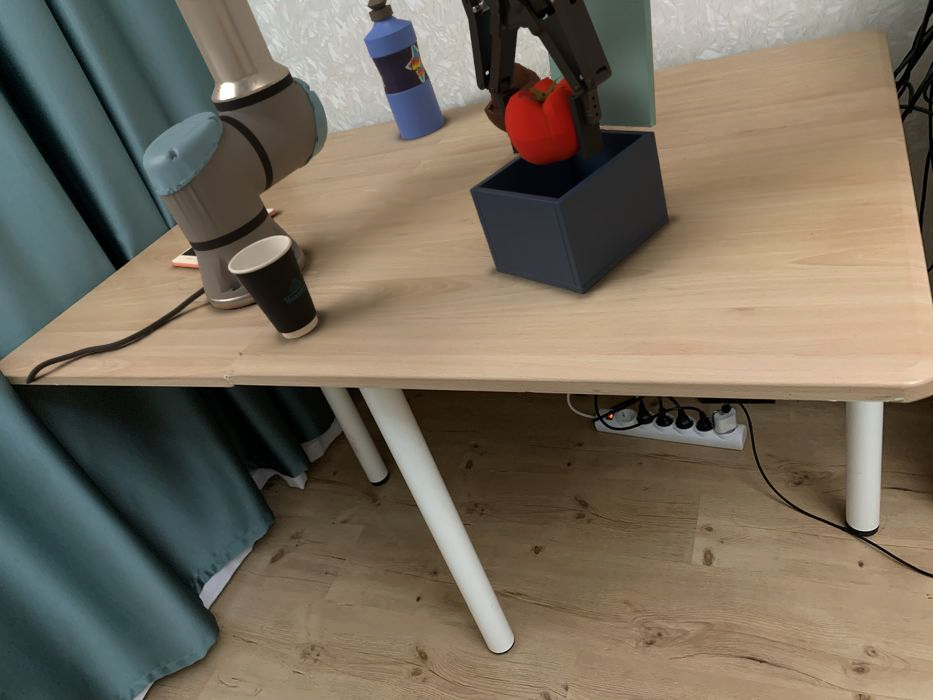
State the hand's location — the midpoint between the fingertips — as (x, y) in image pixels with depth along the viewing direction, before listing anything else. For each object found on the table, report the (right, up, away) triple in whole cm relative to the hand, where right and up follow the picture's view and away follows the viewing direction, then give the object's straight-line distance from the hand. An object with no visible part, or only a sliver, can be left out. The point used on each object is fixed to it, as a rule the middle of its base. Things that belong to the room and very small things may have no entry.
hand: (557, 150), depth 75 cm
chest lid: (+4, +11, -1) cm, 12 cm away
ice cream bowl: (+1, +8, +33) cm, 34 cm away
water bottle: (-18, +22, +63) cm, 69 cm away
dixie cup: (-31, -19, +13) cm, 38 cm away
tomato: (0, 0, +1) cm, 1 cm away
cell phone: (-52, -2, +48) cm, 70 cm away
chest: (+4, -9, +7) cm, 12 cm away
